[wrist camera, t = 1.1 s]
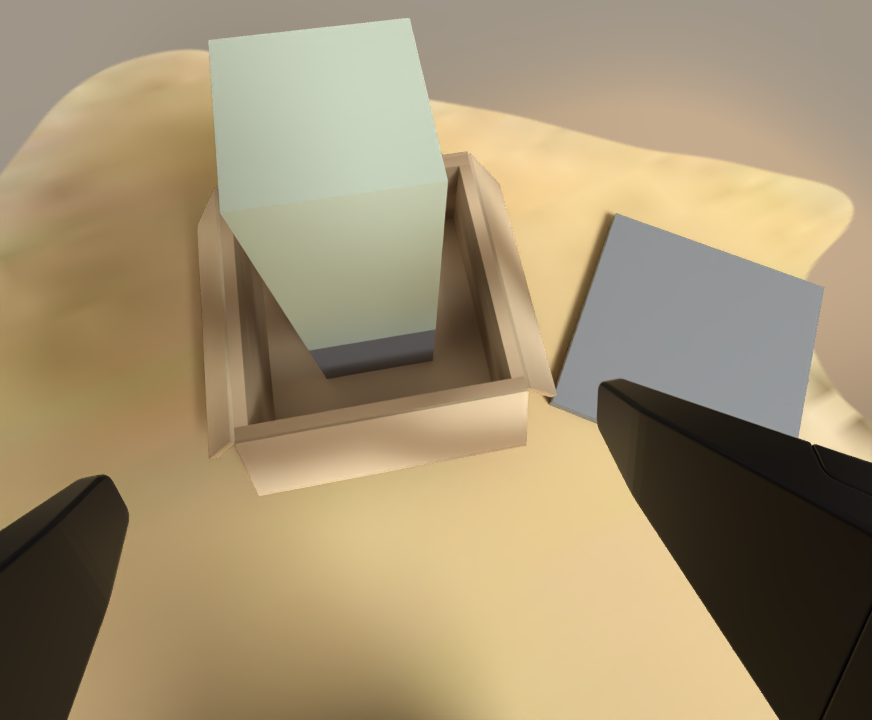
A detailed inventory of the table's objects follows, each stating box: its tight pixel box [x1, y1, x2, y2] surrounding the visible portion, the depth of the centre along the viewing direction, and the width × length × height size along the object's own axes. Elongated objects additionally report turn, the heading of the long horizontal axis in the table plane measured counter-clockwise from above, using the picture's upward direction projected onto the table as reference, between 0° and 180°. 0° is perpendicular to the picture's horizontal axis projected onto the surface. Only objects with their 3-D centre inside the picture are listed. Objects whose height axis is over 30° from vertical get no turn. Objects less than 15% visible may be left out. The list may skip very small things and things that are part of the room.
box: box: [208, 18, 448, 379], centre depth 18 cm, size 5×5×13 cm
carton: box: [197, 152, 557, 496], centre depth 22 cm, size 15×15×5 cm
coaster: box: [549, 213, 824, 438], centre depth 24 cm, size 11×11×1 cm
